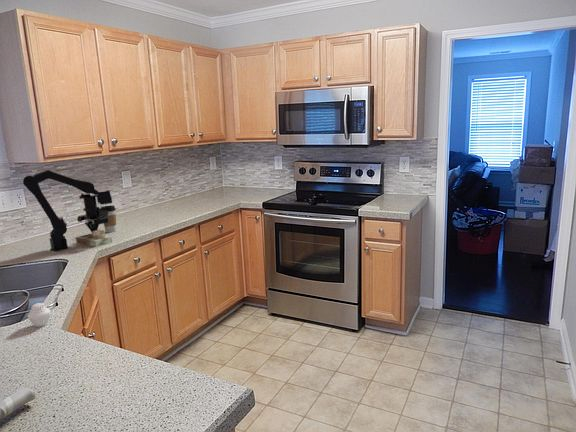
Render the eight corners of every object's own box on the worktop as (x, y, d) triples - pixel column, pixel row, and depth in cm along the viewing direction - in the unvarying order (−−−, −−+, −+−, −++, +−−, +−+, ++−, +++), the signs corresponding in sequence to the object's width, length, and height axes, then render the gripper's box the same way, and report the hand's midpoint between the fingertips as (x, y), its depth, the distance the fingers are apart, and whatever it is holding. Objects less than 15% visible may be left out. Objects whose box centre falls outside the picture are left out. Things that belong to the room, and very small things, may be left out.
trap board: (96, 246, 219) (95, 241, 219) (76, 243, 229) (75, 237, 229) (112, 242, 227) (111, 236, 226) (92, 238, 237) (91, 233, 236)
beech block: (98, 239, 222) (97, 231, 221) (93, 238, 224) (92, 231, 223) (105, 237, 225) (104, 230, 224) (100, 236, 227) (99, 229, 226)
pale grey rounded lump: (55, 319, 136) (51, 298, 135) (48, 327, 131) (44, 306, 129) (34, 321, 136) (30, 300, 134) (26, 330, 130) (21, 308, 128)
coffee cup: (102, 233, 246) (98, 208, 243) (104, 230, 254) (100, 205, 251) (118, 232, 249) (114, 206, 245) (119, 228, 257) (115, 204, 253)
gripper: (115, 204, 224) (119, 233, 228) (94, 201, 234) (98, 229, 238) (96, 208, 215) (100, 238, 219) (74, 205, 225) (79, 234, 229)
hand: (95, 235), depth 226 cm, fingers closed
